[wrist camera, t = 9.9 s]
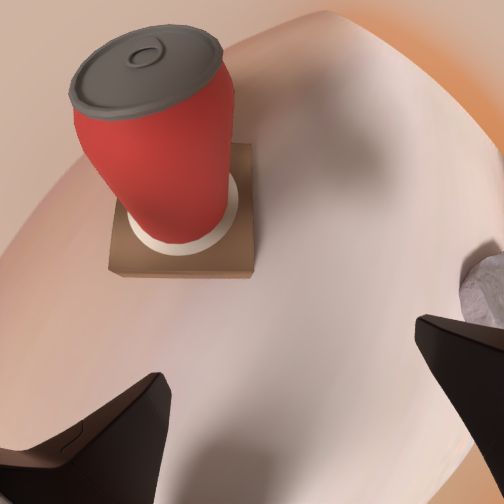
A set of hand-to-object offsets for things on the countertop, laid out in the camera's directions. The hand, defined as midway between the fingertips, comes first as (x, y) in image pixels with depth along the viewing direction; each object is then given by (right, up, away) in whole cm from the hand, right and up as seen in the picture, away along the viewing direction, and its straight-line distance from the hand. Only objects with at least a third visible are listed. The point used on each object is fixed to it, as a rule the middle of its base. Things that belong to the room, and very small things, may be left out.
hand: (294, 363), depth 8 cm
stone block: (+27, -2, +15) cm, 31 cm away
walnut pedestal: (-7, +6, +13) cm, 16 cm away
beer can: (-6, +7, +10) cm, 14 cm away
